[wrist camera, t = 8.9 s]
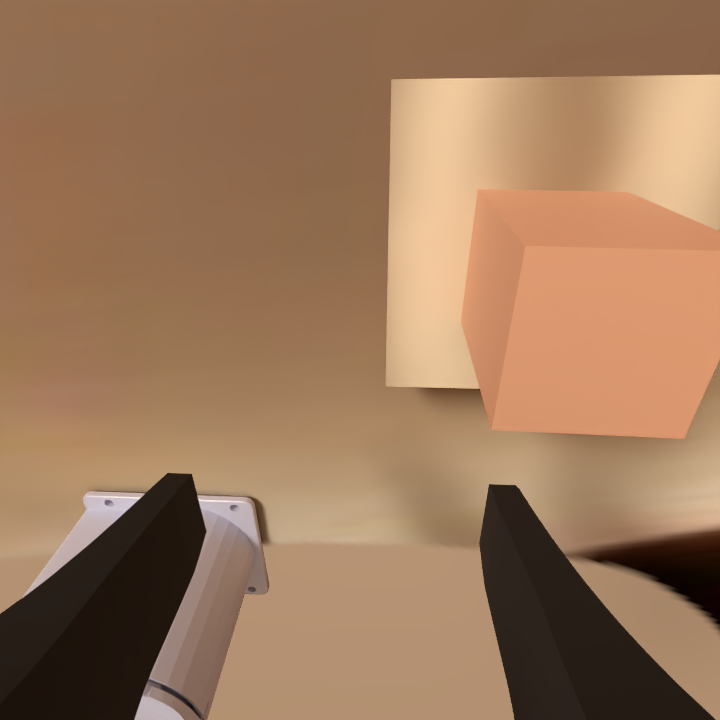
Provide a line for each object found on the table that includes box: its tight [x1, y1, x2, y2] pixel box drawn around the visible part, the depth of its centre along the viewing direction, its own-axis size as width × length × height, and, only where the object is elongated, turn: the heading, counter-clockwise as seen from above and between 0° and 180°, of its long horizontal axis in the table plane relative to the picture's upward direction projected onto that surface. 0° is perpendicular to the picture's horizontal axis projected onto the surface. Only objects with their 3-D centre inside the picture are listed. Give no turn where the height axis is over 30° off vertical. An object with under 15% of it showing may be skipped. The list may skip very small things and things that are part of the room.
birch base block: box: [386, 75, 720, 389], centre depth 17 cm, size 10×10×4 cm
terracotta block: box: [461, 189, 720, 439], centre depth 13 cm, size 4×4×6 cm
